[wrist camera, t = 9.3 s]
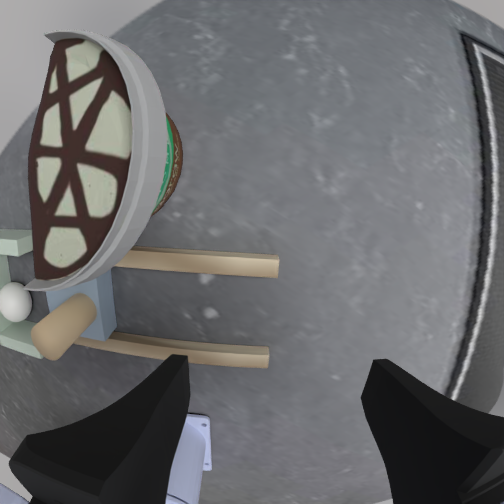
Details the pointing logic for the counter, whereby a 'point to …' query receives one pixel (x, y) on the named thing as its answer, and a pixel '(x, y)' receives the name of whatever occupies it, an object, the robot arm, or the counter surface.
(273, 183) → the counter surface
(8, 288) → the ball
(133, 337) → the lane
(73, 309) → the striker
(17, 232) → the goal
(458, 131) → the counter surface
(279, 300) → the counter surface
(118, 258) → the food container
